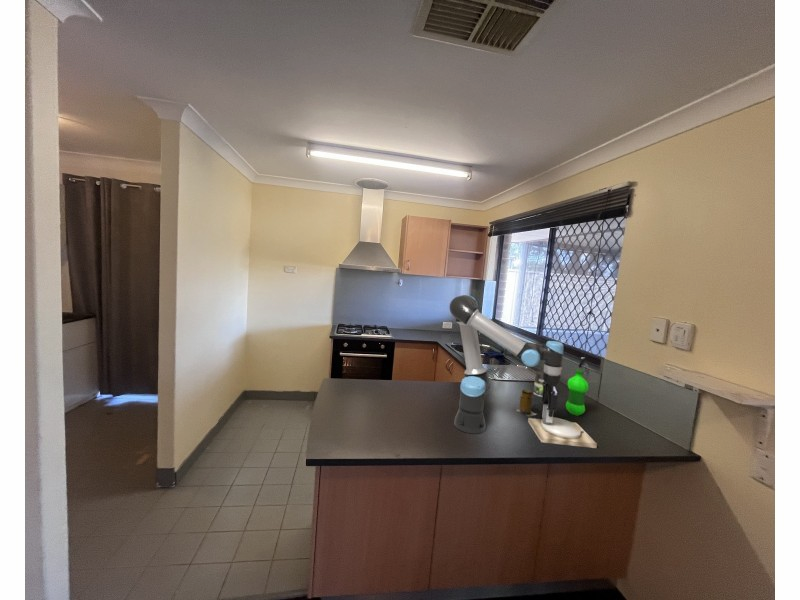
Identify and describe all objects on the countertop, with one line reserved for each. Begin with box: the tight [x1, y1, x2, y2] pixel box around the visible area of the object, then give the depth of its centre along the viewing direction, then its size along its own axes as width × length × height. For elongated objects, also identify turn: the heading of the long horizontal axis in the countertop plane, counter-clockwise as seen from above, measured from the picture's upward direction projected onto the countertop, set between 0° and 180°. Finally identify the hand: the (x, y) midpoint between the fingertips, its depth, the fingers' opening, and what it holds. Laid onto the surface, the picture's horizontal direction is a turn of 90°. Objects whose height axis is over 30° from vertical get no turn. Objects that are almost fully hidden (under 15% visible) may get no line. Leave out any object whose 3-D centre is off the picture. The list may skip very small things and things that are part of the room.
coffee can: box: [532, 370, 545, 398], centre depth 202 cm, size 10×10×14 cm
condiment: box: [515, 389, 538, 417], centre depth 173 cm, size 7×8×12 cm
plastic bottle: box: [565, 368, 589, 417], centre depth 175 cm, size 10×10×25 cm
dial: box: [541, 404, 581, 439], centre depth 151 cm, size 17×17×11 cm
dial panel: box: [527, 417, 598, 449], centre depth 151 cm, size 24×20×2 cm
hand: (547, 419), depth 152 cm, fingers open, 4 cm apart
